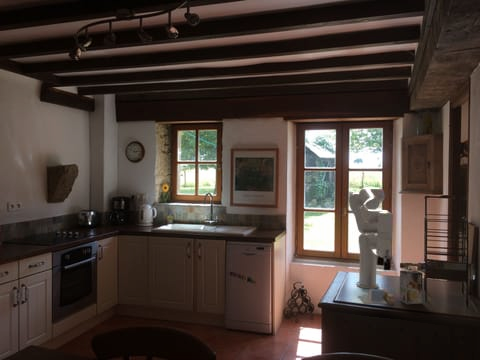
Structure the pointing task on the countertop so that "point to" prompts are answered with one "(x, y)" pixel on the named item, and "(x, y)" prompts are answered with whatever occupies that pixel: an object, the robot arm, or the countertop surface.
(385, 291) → the rail
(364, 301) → the mat
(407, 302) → the coffee box
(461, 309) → the countertop surface
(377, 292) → the block
